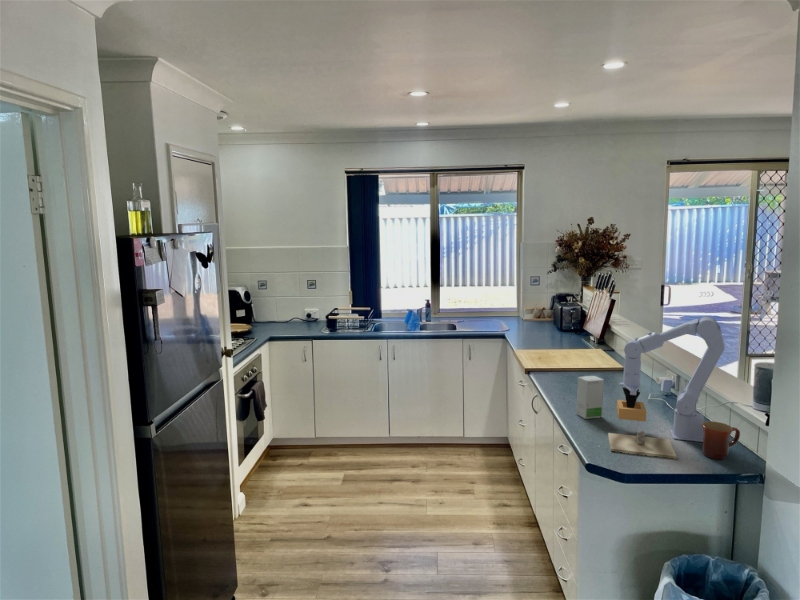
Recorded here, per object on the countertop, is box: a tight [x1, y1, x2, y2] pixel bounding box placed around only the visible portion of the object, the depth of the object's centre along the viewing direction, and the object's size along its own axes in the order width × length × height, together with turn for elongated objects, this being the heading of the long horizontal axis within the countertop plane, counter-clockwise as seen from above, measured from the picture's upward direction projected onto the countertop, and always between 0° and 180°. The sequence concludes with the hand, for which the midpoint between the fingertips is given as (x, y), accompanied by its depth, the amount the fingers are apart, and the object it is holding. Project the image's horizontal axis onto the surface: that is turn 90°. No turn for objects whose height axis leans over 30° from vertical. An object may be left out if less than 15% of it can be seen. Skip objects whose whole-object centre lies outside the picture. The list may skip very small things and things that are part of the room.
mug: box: [701, 420, 741, 460], centre depth 173 cm, size 12×9×10 cm
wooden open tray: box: [616, 399, 647, 422], centre depth 194 cm, size 9×9×4 cm
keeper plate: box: [607, 429, 678, 460], centre depth 181 cm, size 20×14×6 cm
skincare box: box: [575, 375, 605, 420], centre depth 210 cm, size 8×7×16 cm
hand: (630, 407), depth 198 cm, fingers closed on wooden open tray
